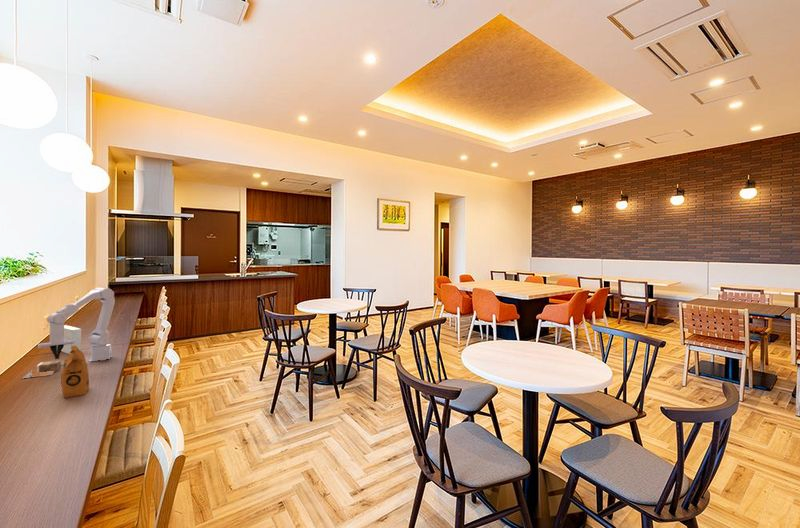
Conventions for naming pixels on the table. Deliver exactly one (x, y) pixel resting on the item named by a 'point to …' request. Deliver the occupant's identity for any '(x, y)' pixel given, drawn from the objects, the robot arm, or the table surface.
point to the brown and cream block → (49, 366)
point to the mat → (31, 375)
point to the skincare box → (71, 338)
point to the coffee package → (74, 374)
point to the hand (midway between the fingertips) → (57, 358)
